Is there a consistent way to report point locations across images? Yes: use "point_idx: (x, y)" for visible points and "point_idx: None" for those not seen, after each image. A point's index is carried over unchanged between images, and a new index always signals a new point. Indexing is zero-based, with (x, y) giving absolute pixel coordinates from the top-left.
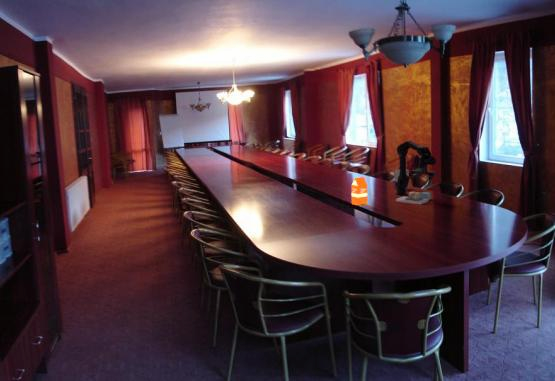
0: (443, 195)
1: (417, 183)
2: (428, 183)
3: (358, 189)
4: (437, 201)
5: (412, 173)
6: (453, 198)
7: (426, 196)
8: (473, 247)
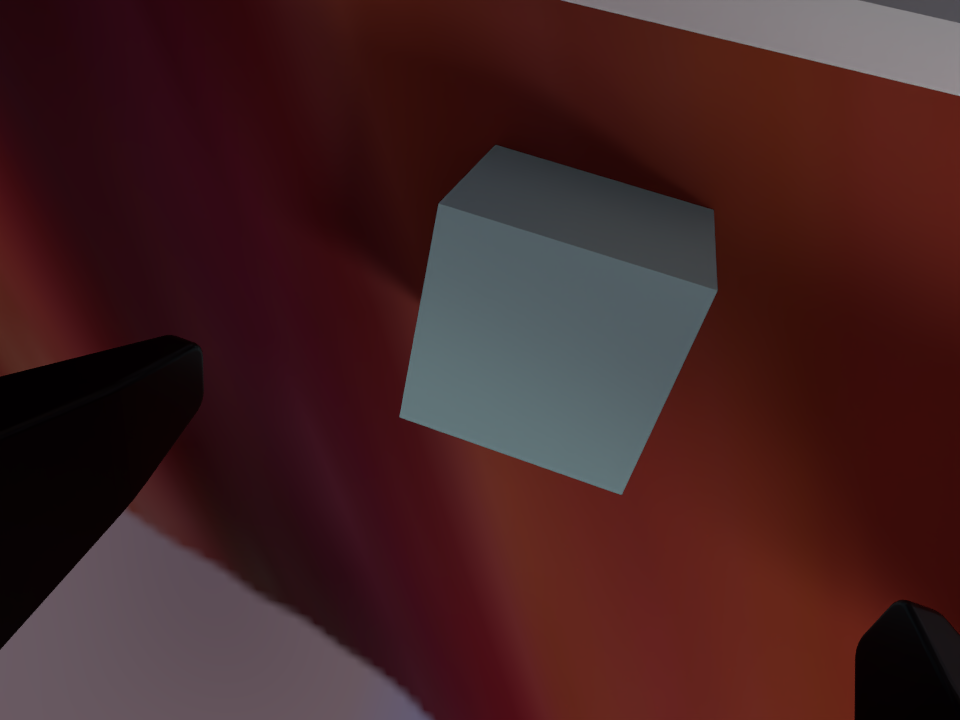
0: (353, 634)
1: (886, 637)
2: (92, 368)
3: None
4: (224, 96)
5: None
6: None
7: (474, 181)
8: None
